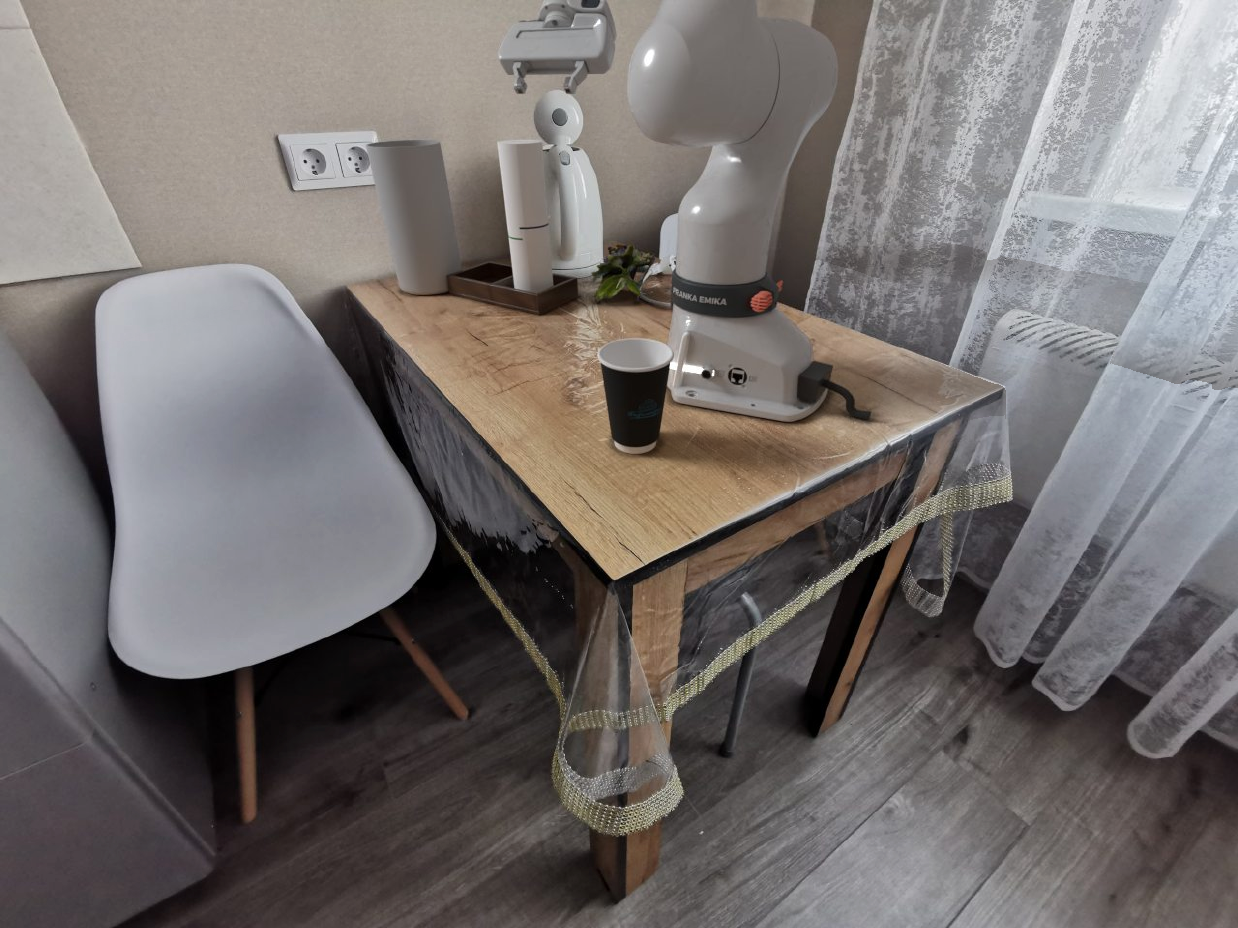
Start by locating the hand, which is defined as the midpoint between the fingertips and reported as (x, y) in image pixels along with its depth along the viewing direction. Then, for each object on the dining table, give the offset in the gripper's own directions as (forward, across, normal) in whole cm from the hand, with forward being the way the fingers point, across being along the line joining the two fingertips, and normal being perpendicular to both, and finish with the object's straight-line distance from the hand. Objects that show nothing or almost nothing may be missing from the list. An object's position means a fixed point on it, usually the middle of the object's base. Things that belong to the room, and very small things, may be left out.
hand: (543, 91), depth 93 cm
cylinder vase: (+30, -24, +17) cm, 41 cm away
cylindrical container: (+29, 0, +16) cm, 33 cm away
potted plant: (+24, +16, +21) cm, 36 cm away
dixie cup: (+57, +35, -12) cm, 68 cm away
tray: (+29, -5, +17) cm, 34 cm away
